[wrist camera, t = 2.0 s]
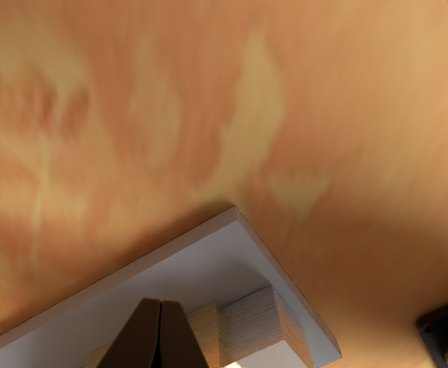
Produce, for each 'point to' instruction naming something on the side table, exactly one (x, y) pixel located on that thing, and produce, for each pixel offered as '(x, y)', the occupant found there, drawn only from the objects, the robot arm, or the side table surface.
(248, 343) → the valve
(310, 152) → the side table surface
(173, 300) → the robot arm
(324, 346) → the board
